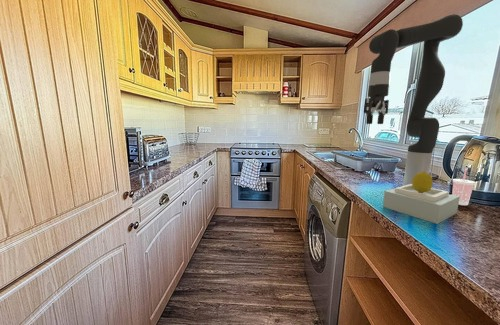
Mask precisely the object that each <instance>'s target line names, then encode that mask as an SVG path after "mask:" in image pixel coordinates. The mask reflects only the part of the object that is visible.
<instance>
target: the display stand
mask: <svg viewBox="0 0 500 325" xmlns="http://www.w3.org/2000/svg"><path fill="white" fill-rule="evenodd" d="M459 198H460V196H455V195H452V194H450V192H449V191H448V190H442V189H438V188H434V187H432V188H431V189H430V190H429V191H427V192H424V193H419V192H418V191H416V190H415V189H414V188H413V186H412V184H408V185H404V186H403V185H401V186H397V187H395V188H391V189H387V190H385V191H384V194H383V201H382V202H383V203H382V207H383V208H385V209H389V210H392V211H395V212H398V213H400V214H401V213H402V214H405V215H408V216H411V217H414V218H418V219H421V220H424V221H427V222H430V223H433V224H436V225H437V224H440V223H441V222H443V221H446V220H448V219H449V218H451V217H453V216H454V215H456V214H458V213H457V212H458V208H459V204H458V203H459Z"/></svg>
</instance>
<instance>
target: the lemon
mask: <svg viewBox="0 0 500 325" xmlns="http://www.w3.org/2000/svg"><path fill="white" fill-rule="evenodd" d="M433 182H434V181H433V177H432V176H431V174H430V173H429V174H428V173H426V172H424V171H422V172H420V173H417V174H416V175H415V176H414V178H413V180H412V186H413V188H414V189H415V190H416V191H418V192H419V193H424V192H427V191H429V190H430V189H431V188H433Z"/></svg>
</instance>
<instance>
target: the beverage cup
mask: <svg viewBox="0 0 500 325" xmlns="http://www.w3.org/2000/svg"><path fill="white" fill-rule="evenodd" d="M464 168H465V169H464V174H463V177H462V178H463V179H462V178H452V193H451V195H455V196H460V198H459V203H458V206H459V205H460V206H468V205H469V203H470V198H471V196H472V192H473V188H474V186H475V185H476V181H473V180H469V179H466V176H467V171H468V167H464Z"/></svg>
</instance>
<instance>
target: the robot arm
mask: <svg viewBox="0 0 500 325" xmlns="http://www.w3.org/2000/svg"><path fill="white" fill-rule="evenodd" d="M463 25H464V20H463V18H462V16H460V15H458V14H456V13H452V14H449V15H446V16H444V17H442V18H440V19H437V20H434V21H432V22H429V23H425V24H420V25H413V26H409V27H404V28H401V29H397V30H395V29H392V28H391V29H387V30H386V31H383V32H382V33H380V34H378V35H376V36H374V37H373V38H372V39H371V40H370V42H369V44H368V47H369V48H368V49H369V51H370V52H371V53H373V54H375V55H378V56H377V57H376V58H374V59H373V60H372V62H371V67H370V68H371V69H370V75H369V81H368V91H367V97H368V98H365V99H364V105H363V114H365V115H366V120H365V121H366V122H365V124H367V125H372V124H373V119H374V118H373V117H374V115H373V114H374V113H375V112H377V121H376V122H377V123H376V124H377V125H383V124H384V121H385V120H384V119H385V116H386V115H388V113H389V102H390V100H389V99H385V97H388V96H389V91H390V82H391V69H392V68H391V67H392V61H393V58H394V56H395V54H396V51H397V49H402V48H406V47H410V46H414V45H416V44H420V43H422V42H423V46H422V47H423V48H422V57H421V58H422V59H421V63H420V64H421V65H420V69H419V74H418V78H417V83H416V89H415V94H414V99H413V104H412V106H411V110H410V113H409V117H408V119H407V120H408V121H407V123H406V134H407V135H408V136H409V137H412V138H418V139H417V140H418V141H416V142H415V143H413V144H409V145H408V147H407V152H406V161H405V168H404V176H403V184H402V186H404V185H408V184H412V180H413V178H414V176H415V175H416V174H417V173H420V172H422V171H424V172H426V173H428V174H429V175H430V170H431V164H432V159H433V151H434V149H435V147H436V144H437V140H438V136H439V130H440V122H439V119H437V118H436V117H431V116H429V117H428V116H427V117H425V115H426V112H427V109H428V107H429V106H430V104H432V102H433V101H434V99H436V97H437V96H438V94H439V93H440V92H441V91H442V90H443V89H442V88H443V85H444V80H445V77H446V69H445V66H444V65H443V63H442V61H441V59H440V57H439V47H440V44H441V43H442V42H445V41H447V40H450V39H453V38H454V37H457V35H459V34H460V32H461V31H462V29H463Z"/></svg>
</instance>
